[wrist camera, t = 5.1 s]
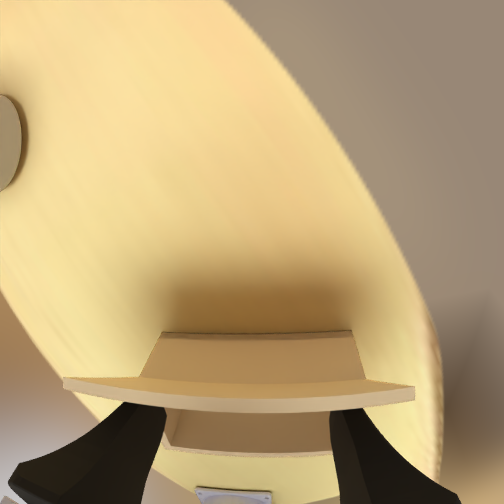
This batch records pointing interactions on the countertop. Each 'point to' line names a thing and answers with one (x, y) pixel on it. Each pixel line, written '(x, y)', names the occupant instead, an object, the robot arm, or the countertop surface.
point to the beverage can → (9, 141)
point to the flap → (244, 394)
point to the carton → (252, 372)
